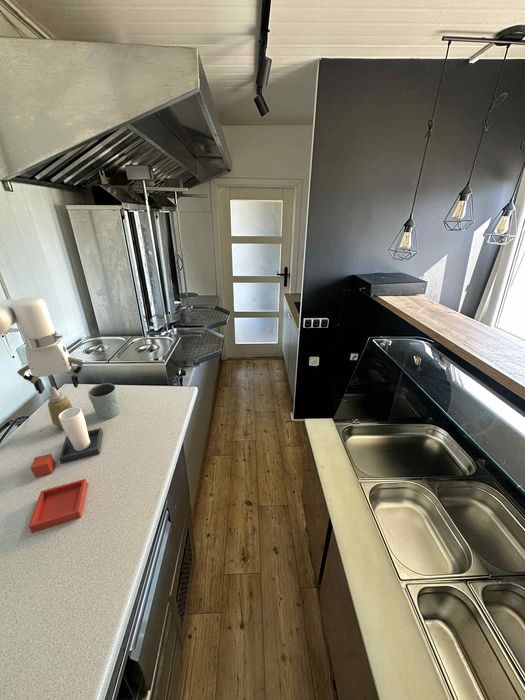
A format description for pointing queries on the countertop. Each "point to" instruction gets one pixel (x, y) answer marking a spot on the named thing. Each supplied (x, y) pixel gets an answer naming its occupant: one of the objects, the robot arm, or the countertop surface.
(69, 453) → the graphite tray
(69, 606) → the countertop surface
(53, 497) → the red tray
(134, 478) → the countertop surface
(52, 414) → the squeeze bottle
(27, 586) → the countertop surface
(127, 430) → the countertop surface
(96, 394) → the green pot
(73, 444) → the drinking glass
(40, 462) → the red block
